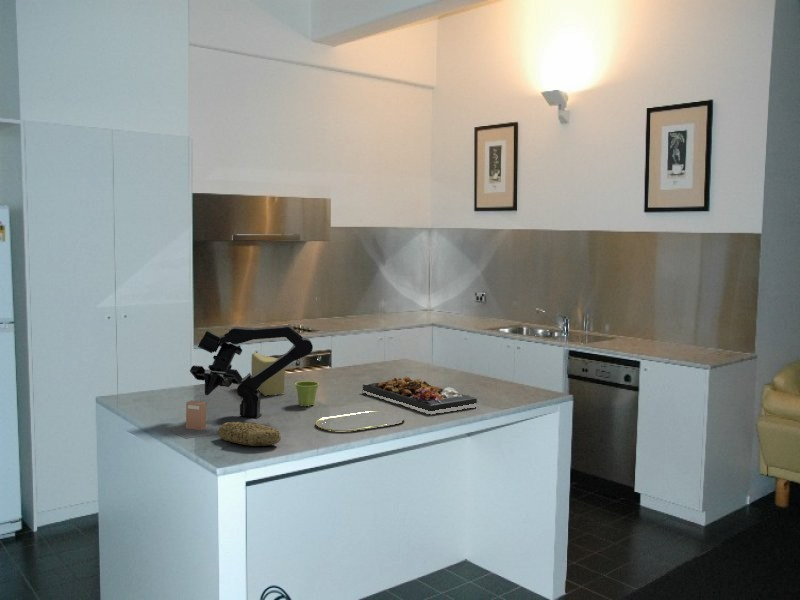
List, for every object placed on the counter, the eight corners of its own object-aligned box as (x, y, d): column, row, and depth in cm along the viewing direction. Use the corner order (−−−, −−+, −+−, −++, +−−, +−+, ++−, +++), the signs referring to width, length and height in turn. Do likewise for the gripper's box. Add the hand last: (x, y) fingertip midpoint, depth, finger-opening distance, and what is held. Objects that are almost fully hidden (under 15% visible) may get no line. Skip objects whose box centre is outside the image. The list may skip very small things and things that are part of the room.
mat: (165, 429, 251) (165, 427, 251) (198, 424, 259) (198, 422, 259) (185, 440, 239) (185, 438, 239) (219, 434, 247) (219, 433, 247)
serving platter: (306, 424, 265) (306, 420, 265) (385, 413, 286) (385, 409, 286) (333, 437, 250) (333, 432, 250) (415, 424, 271) (415, 419, 271)
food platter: (476, 409, 298) (477, 384, 297) (429, 416, 283) (430, 390, 282) (407, 388, 334) (407, 366, 333) (362, 394, 318) (363, 370, 318)
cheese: (242, 387, 323) (242, 353, 322) (262, 385, 329) (263, 351, 328) (264, 396, 305) (264, 361, 304) (285, 394, 311) (286, 359, 310)
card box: (191, 426, 254) (191, 400, 254) (206, 428, 252) (206, 402, 252) (185, 428, 252) (186, 402, 251) (200, 430, 250) (201, 404, 249)
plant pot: (300, 408, 287) (301, 386, 286) (290, 403, 294) (290, 382, 294) (322, 406, 292) (322, 384, 291) (311, 401, 300) (312, 380, 299)
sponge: (214, 446, 238) (253, 446, 226) (215, 421, 240) (254, 420, 227) (247, 445, 248) (286, 445, 235) (248, 422, 250) (286, 421, 237)
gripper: (255, 373, 269) (238, 409, 260) (211, 368, 276) (193, 404, 267) (243, 355, 261) (225, 392, 252) (198, 351, 268) (179, 387, 258)
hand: (206, 394), depth 257 cm, fingers closed
